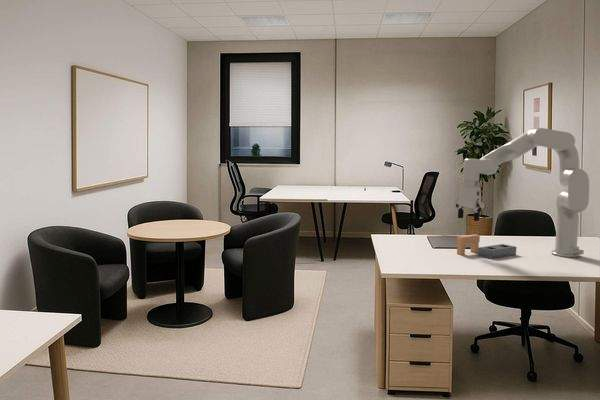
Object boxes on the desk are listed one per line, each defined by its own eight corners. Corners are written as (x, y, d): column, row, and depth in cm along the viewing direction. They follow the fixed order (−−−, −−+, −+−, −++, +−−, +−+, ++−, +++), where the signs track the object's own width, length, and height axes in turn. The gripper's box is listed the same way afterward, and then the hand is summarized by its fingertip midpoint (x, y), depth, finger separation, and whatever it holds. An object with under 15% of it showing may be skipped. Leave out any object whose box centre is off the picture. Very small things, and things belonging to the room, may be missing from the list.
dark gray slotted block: (516, 254, 273) (516, 246, 272) (491, 258, 263) (492, 250, 262) (501, 251, 279) (502, 243, 279) (477, 255, 270) (478, 247, 269)
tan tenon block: (478, 252, 278) (479, 235, 277) (461, 254, 271) (461, 237, 270) (474, 251, 281) (474, 234, 280) (456, 253, 274) (457, 236, 273)
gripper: (490, 185, 267) (488, 221, 269) (461, 182, 281) (459, 216, 283) (480, 186, 263) (477, 222, 265) (451, 182, 277) (449, 217, 279)
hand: (468, 219), depth 274 cm, fingers open, 9 cm apart
